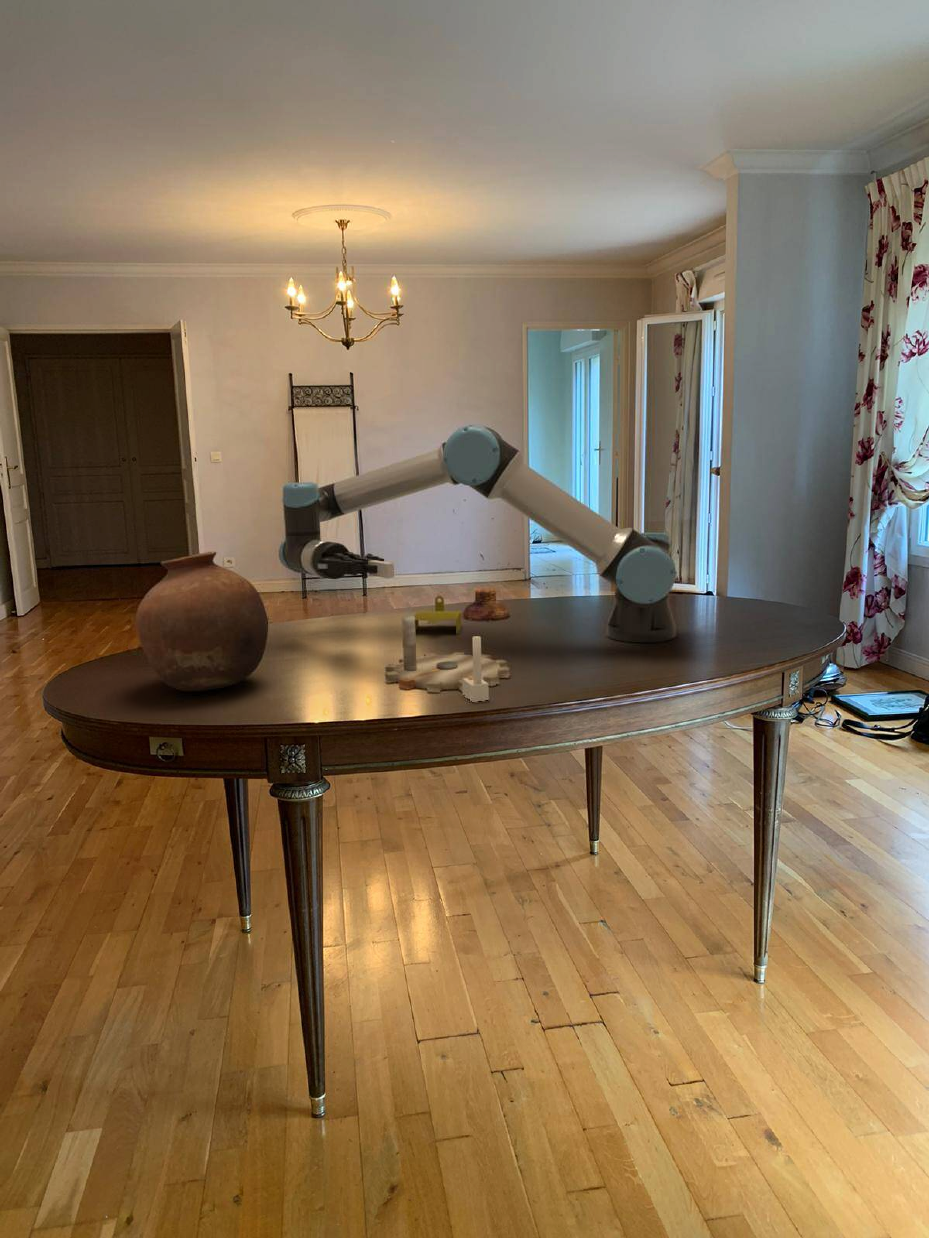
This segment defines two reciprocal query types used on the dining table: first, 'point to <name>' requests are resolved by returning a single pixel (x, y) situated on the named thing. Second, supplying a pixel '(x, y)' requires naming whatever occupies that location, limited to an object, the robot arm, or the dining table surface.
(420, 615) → the bracket
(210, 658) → the pottery
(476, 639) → the index post
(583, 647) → the dining table surface
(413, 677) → the sprocket
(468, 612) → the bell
